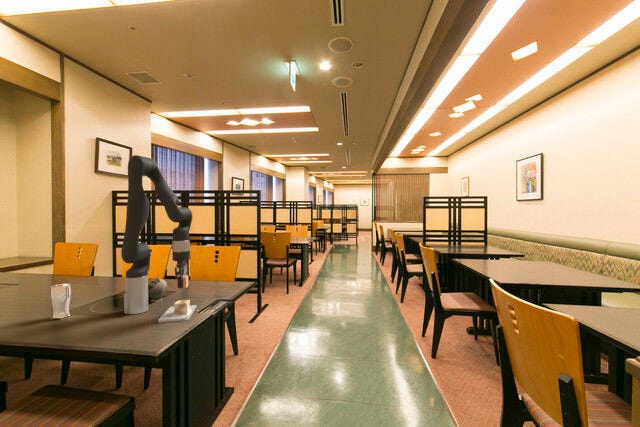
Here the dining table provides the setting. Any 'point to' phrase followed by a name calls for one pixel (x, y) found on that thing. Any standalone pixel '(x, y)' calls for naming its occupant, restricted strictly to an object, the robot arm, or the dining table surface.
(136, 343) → the dining table surface
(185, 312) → the beech block
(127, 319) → the dining table surface
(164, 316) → the build board
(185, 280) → the terracotta block
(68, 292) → the beer glass
